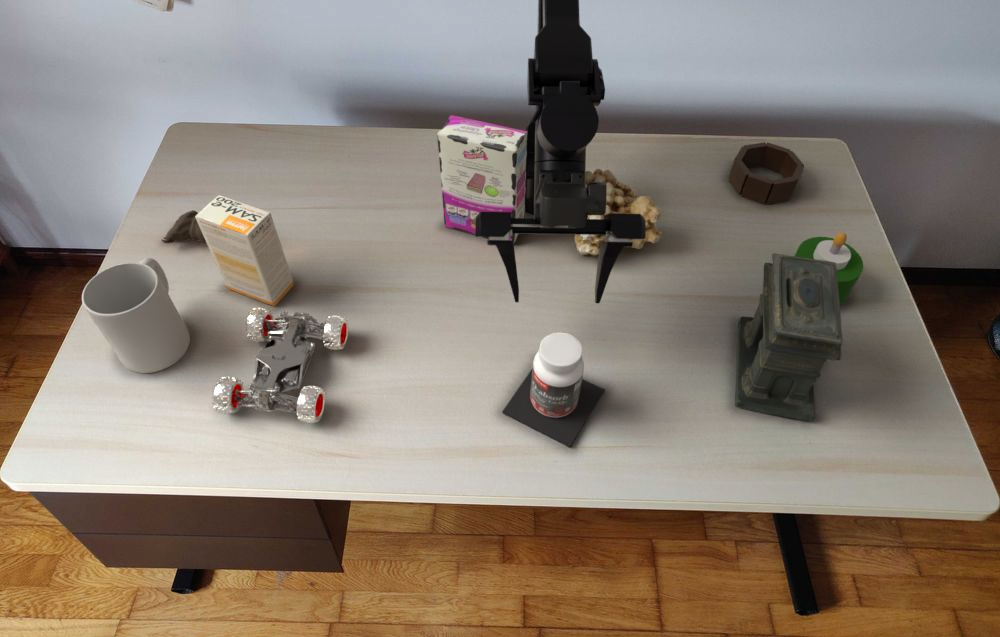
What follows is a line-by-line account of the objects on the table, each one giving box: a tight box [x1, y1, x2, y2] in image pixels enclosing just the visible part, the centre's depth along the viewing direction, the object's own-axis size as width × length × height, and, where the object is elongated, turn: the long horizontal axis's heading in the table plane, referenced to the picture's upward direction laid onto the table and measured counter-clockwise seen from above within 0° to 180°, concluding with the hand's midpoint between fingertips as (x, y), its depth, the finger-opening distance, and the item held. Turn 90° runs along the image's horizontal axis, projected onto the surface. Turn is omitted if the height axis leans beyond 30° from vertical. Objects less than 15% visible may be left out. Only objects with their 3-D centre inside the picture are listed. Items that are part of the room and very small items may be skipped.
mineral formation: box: [574, 168, 663, 256], centre depth 100 cm, size 8×13×15 cm
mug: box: [81, 257, 191, 374], centre depth 85 cm, size 12×8×11 cm
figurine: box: [161, 209, 207, 244], centre depth 99 cm, size 6×4×12 cm
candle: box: [794, 232, 864, 307], centre depth 92 cm, size 8×8×10 cm
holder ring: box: [727, 141, 805, 206], centre depth 108 cm, size 10×10×4 cm
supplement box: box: [195, 194, 295, 307], centre depth 90 cm, size 8×5×13 cm, turn 65°
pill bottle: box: [530, 332, 585, 418], centre depth 79 cm, size 6×6×10 cm
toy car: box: [211, 307, 350, 424], centre depth 84 cm, size 15×12×5 cm
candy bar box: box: [436, 114, 528, 244], centre depth 96 cm, size 11×5×16 cm, turn 69°
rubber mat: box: [502, 367, 605, 449], centre depth 83 cm, size 9×9×1 cm
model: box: [734, 253, 844, 422], centre depth 81 cm, size 14×9×15 cm, turn 168°
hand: (557, 302), depth 80 cm, fingers open, 9 cm apart
